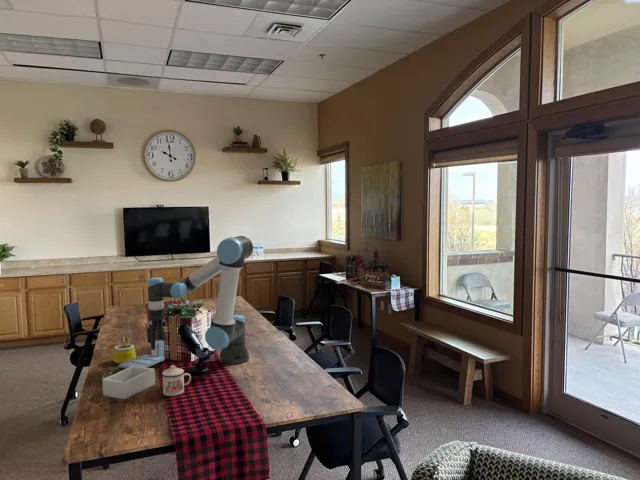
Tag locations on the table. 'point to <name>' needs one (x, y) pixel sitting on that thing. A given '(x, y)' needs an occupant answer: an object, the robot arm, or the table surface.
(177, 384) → the teacup with lid
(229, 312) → the robot arm
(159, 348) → the light blue l-shaped piece
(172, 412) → the table surface
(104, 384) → the tub
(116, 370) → the salad plate
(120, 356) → the mug
